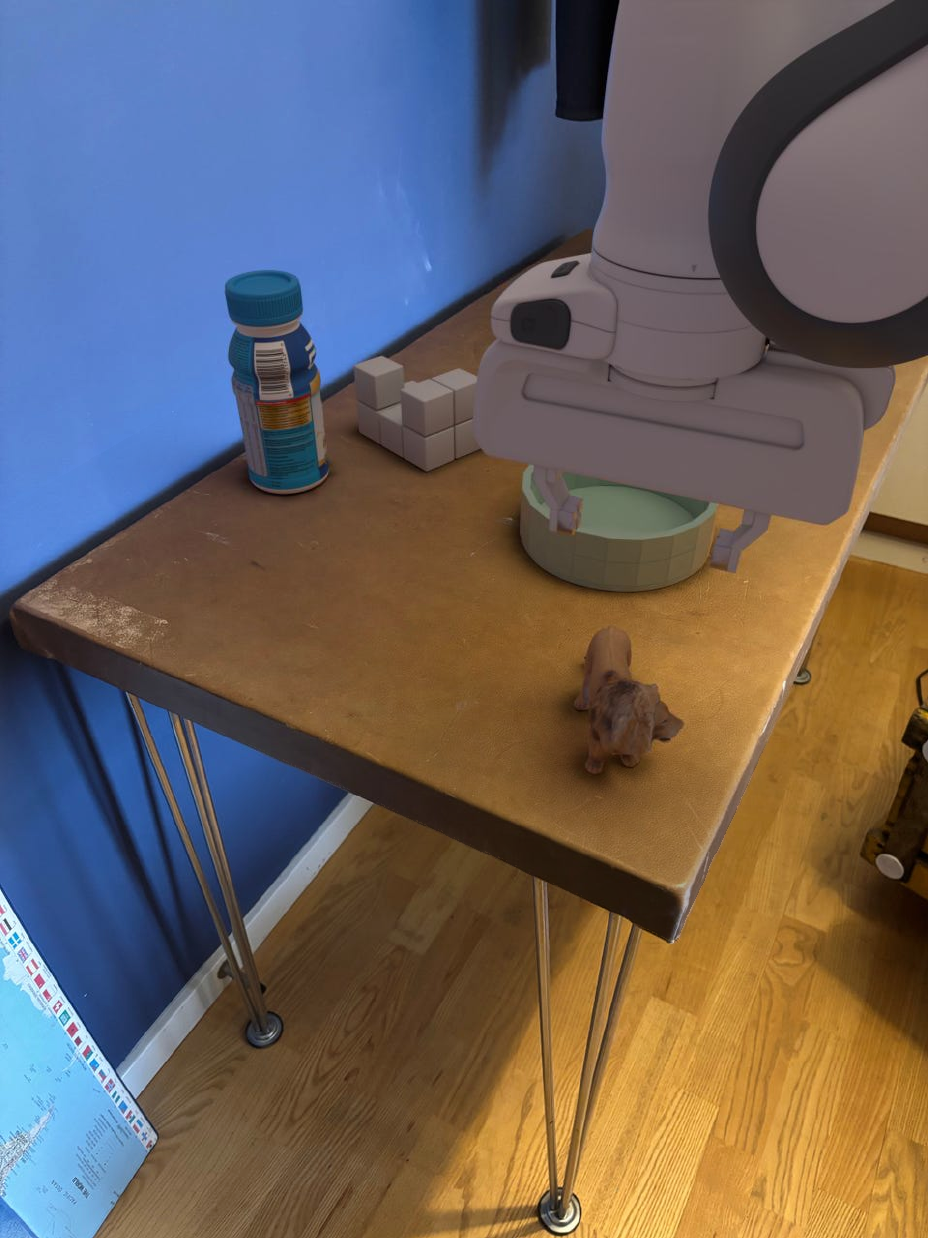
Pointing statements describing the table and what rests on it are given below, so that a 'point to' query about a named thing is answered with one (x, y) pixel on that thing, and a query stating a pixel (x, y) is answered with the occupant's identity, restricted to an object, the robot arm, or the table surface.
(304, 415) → the beverage bottle
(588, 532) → the bowl
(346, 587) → the table surface
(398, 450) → the puzzle cube
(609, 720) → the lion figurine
